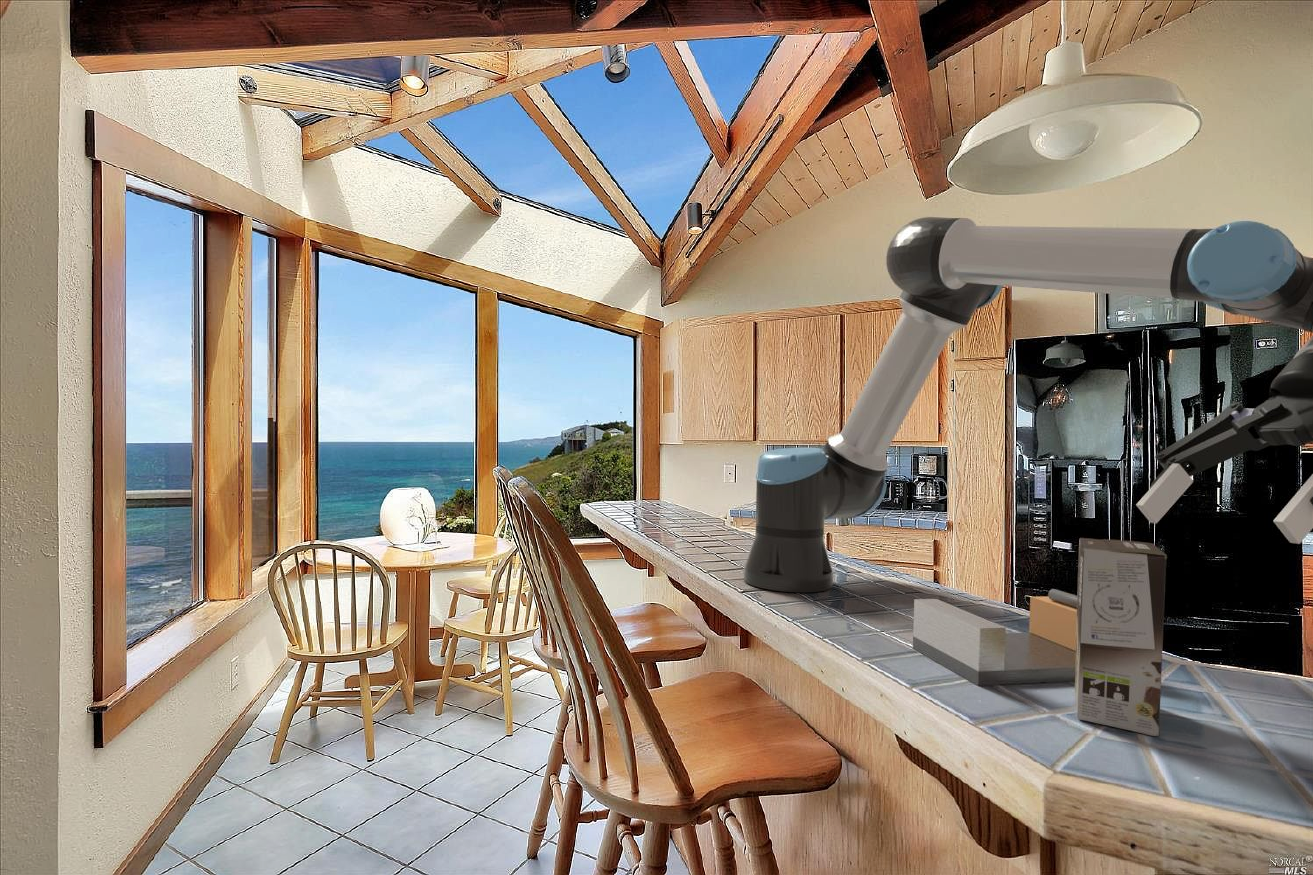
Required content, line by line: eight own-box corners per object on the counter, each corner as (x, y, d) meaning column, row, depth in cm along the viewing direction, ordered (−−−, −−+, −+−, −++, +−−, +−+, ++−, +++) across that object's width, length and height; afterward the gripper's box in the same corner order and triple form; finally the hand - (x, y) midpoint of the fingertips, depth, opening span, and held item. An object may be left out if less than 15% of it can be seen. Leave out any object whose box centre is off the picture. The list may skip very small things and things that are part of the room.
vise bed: (912, 648, 81) (914, 599, 81) (1054, 643, 84) (1056, 596, 84) (978, 685, 69) (980, 628, 69) (1139, 678, 73) (1141, 623, 73)
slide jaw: (1029, 632, 84) (1030, 585, 84) (1049, 631, 84) (1051, 584, 84) (1110, 665, 72) (1112, 610, 72) (1134, 664, 72) (1136, 610, 72)
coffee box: (1162, 739, 58) (1169, 554, 58) (1075, 720, 61) (1081, 546, 61) (1150, 704, 65) (1155, 541, 65) (1073, 689, 69) (1078, 534, 69)
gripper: (1535, 395, 56) (1391, 575, 53) (1230, 407, 80) (1121, 531, 78) (1489, 329, 55) (1339, 509, 52) (1194, 362, 79) (1082, 485, 77)
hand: (1208, 522), depth 65 cm, fingers open, 13 cm apart
